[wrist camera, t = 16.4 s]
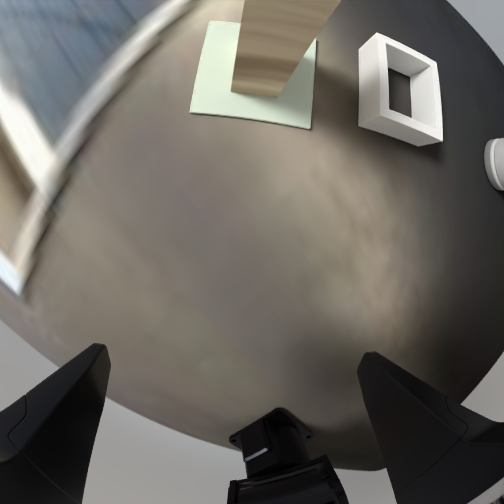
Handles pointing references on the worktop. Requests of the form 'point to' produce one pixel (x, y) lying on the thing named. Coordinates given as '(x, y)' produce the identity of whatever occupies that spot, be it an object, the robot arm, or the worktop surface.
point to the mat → (248, 105)
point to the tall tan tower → (275, 42)
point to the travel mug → (495, 162)
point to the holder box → (377, 92)
